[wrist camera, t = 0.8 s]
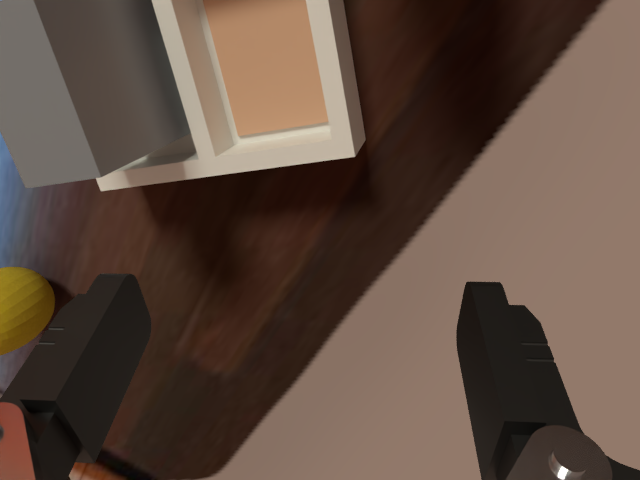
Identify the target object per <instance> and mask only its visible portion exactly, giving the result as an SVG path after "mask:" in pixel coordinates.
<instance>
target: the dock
mask: <svg viewBox="0 0 640 480" xmlns="http://www.w3.org/2000/svg"><path fill="white" fill-rule="evenodd" d="M0 132H1V134H2V136H3V138H4V141H5V143H6V145H7V147H8V149H9V152H10V154H11V156H12V158H13V161H14V163H15V165H16V167H17V170H18V172H19V174H20V176H21V179H22V181H23V183H24V185H25V187H26V188H32V187H39V186H46V185H53V184H59V183H66V182H73V181H80V180H87V179H94V178H96V180H97V182H98V185H99V188H100V190H101V191H106V190H114V189H121V188H128V187H136V186H143V185H151V184H158V183H165V182H173V181H180V180H187V179H195V178H202V177H210V176H217V175H224V174H232V173H239V172H247V171H254V170H261V169H269V168H276V167H284V166H291V165H298V164H306V163H313V162H321V161H328V160H335V159H343V158H350V157H355V156H356V155H357V153H358V151H359V150H360V148H361V147H362V145H363V143H364V142H365V140H366V138H365V132H364V126H363V119H362V113H361V107H360V101H359V95H358V88H357V82H356V76H355V70H354V64H353V58H352V51H351V45H350V39H349V33H348V27H347V20H346V14H345V8H344V2H343V0H2V1H0Z"/></svg>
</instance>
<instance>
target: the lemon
mask: <svg viewBox="0 0 640 480" xmlns="http://www.w3.org/2000/svg"><path fill="white" fill-rule="evenodd" d="M54 307H55V297H54V292H53V289H52V287H51V286H50V284H49V283H48V281H47V280H46V279H45V278H44V277H43V276H41V275H40V274H39V273H37V272H35V271H33V270H30V269H26V268H22V267H5V268H0V355H3V354H6V353H8V352H11V351H13V350H15V349H18V348H20V347H22V346H23V345H25V344H27V343H28V342H30V341H31V340H32V339H34V338H35V337H36V336H37V335H38V334H39V333H40V332H41V331H42V330H43V329H44V328H45V327H46V326H47V324H48V323H49V321H50V319H51V317H52V314H53V312H54Z"/></svg>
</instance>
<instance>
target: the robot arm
mask: <svg viewBox="0 0 640 480" xmlns="http://www.w3.org/2000/svg"><path fill="white" fill-rule="evenodd" d="M150 333H151V318H150V315H149V312H148V309H147V306H146V304H145V301H144V298H143V295H142V292H141V290H140V287H139V284H138V281H137V279H136V277H135V276H134V275H132V274H100V275H98V276H97V277H96V279H95V280H94V282H93V284H92V285H91V287H90V288H89V290H88V291H87V293H86V294H78V295H77V296H76V297H74V298H73V299H72V300H71V301H70V302H68V303H67V304H66V305H65V306H63V307H62V308H61V309H60V310H59V312H58V313H57V315H56V316H55V318H54V319H53V321H52V322H51V324H50V325H49V329H48V330H46V331H45V333H44V334H43V336H42V337H41V339H40V340H39V345H36V346H35V348H34V349H33V351H32V352H31V354H30V355H29V357H28V358H27V360H26V361H25V363H24V364H23V366H22V367H21V369H20V370H19V372H18V373H17V375H16V376H15V378H14V379H13V381H12V382H11V384H10V385H9V387H8V388H7V390H6V391H5V393H4V394H3V396H2V397H1V398H0V480H70V478H69V474H70V472H71V470H72V468H73V465H74V463H75V462H83V463H95V461H96V459H97V456H98V454H99V452H100V449H101V447H102V445H103V443H104V440H105V438H106V436H107V434H108V431H109V429H110V427H111V425H112V422H113V420H114V418H115V416H116V413H117V411H118V409H119V407H120V404H121V402H122V400H123V398H124V395H125V393H126V391H127V389H128V386H129V384H130V382H131V379H132V377H133V375H134V373H135V370H136V368H137V366H138V364H139V361H140V359H141V357H142V355H143V352H144V350H145V348H146V346H147V343H148V341H149V338H150ZM547 344H548V342H547V339H546V337H545V334H544V331H543V328H542V326H541V323H540V322H539V321H538V320H537V319H536V317H535V316H534V315H533V314H532V313H531V312H530V311H529V310H528V309H527V308H526V307H525V306H524V305H509V304H508V301H507V298H506V295H505V292H504V288H503V286H502V284H501V283H500V282H467V283H466V285H465V289H464V294H463V299H462V304H461V309H460V314H459V319H458V324H457V351H458V357H459V362H460V367H461V373H462V378H463V383H464V388H465V394H466V399H467V404H468V410H469V415H470V420H471V425H472V431H473V436H474V441H475V446H476V452H477V457H478V462H479V468H480V473H481V479H482V480H640V471H639V470H637V469H634V468H631V467H628V466H625V465H623V464H620V463H618V462H616V461H615V460H612V459H611V458H609V457H608V456H606V455H605V454H604V452H603V451H602V450H601V448H600V447H599V446H598V445H597V444H596V443H595V442H594V441H593V440H591V439H590V438H589V437H587V436H586V435H584V433H583V432H582V430H581V428H580V426H579V424H578V421H577V419H576V416H575V413H574V411H573V408H572V405H571V403H570V400H569V397H568V395H567V392H566V389H565V387H564V384H563V381H562V379H561V376H560V374H559V371H558V368H557V366H556V363H554V358H553V355H552V353H551V350H550V347H549V346H548V345H547Z"/></svg>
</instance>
